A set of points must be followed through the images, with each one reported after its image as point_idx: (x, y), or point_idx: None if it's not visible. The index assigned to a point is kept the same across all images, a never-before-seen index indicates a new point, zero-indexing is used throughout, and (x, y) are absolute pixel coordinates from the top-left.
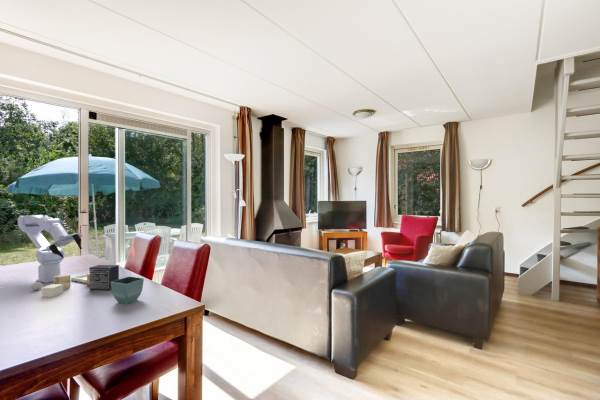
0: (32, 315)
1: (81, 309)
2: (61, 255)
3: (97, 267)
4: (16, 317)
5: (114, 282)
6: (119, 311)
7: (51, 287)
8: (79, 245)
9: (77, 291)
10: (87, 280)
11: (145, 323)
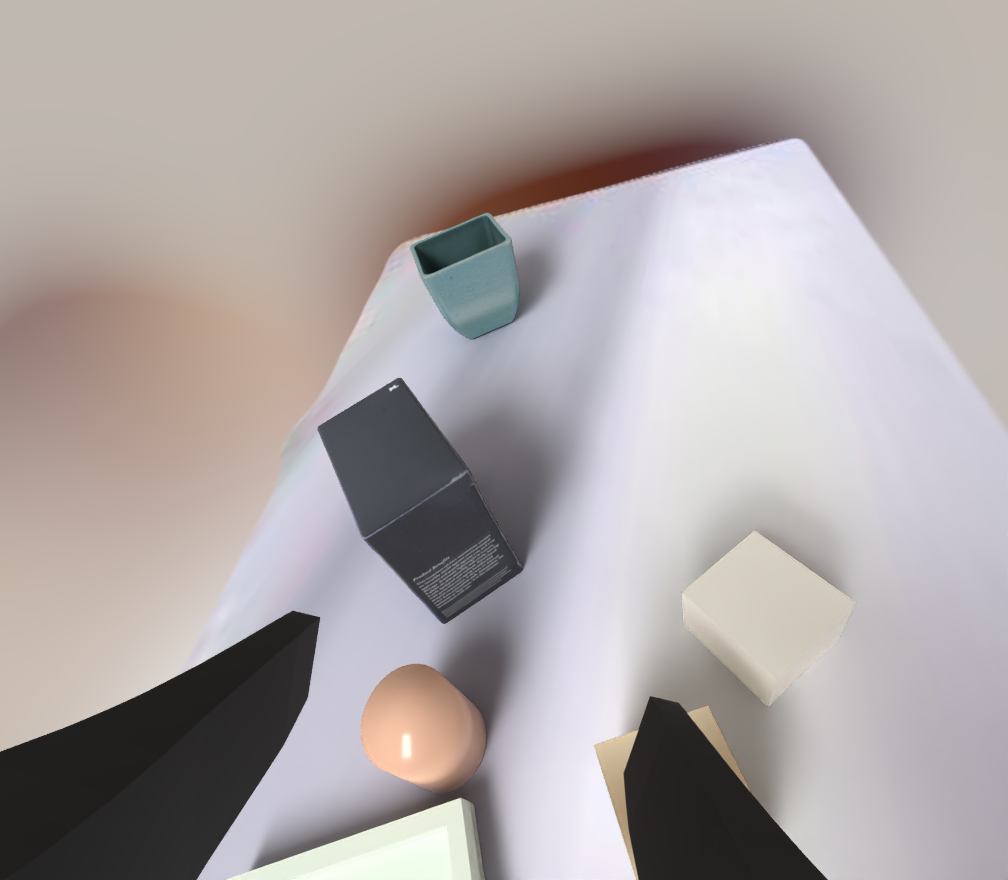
0: (816, 333)
1: (631, 316)
2: (668, 705)
3: (432, 431)
4: (890, 339)
5: (504, 231)
6: (543, 267)
7: (770, 556)
8: (285, 621)
9: (592, 585)
10: (472, 721)
11: (533, 207)
